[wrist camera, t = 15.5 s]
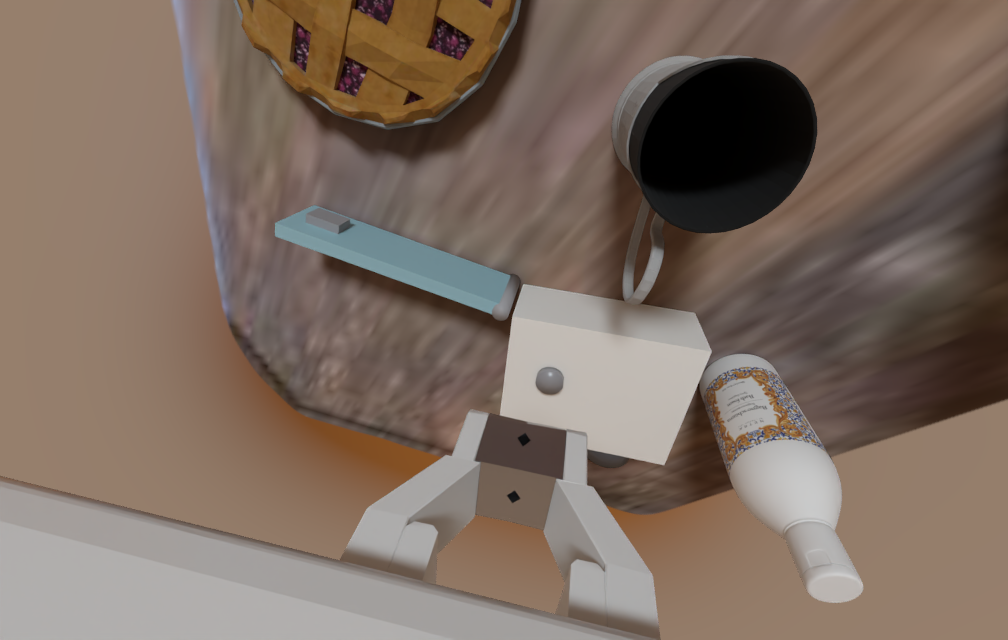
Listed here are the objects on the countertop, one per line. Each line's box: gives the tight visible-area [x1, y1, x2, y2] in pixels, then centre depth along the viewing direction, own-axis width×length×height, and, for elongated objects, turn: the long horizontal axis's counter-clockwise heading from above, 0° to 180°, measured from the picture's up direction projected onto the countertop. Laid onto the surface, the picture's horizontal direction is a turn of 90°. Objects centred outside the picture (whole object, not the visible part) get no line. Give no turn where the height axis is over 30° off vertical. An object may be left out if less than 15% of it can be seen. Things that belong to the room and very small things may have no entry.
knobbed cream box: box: [500, 284, 712, 468], centre depth 41 cm, size 16×16×7 cm
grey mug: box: [612, 56, 817, 305], centre depth 27 cm, size 9×14×15 cm, turn 164°
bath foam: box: [700, 354, 863, 603], centre depth 33 cm, size 7×7×20 cm
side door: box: [275, 205, 520, 321], centre depth 38 cm, size 2×21×7 cm, turn 73°
